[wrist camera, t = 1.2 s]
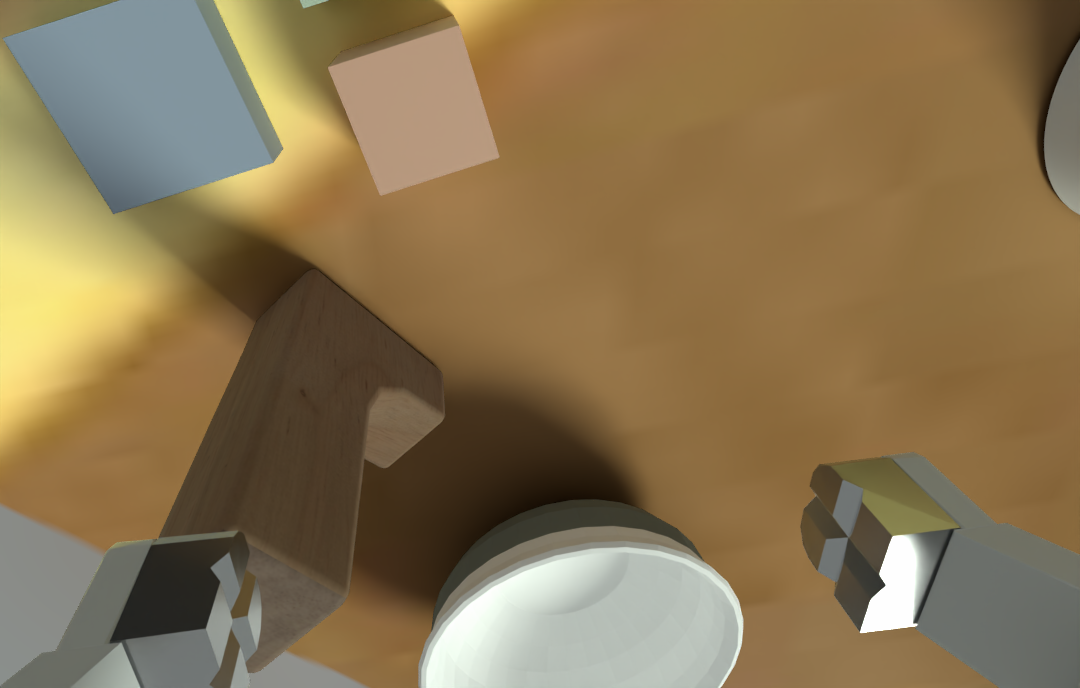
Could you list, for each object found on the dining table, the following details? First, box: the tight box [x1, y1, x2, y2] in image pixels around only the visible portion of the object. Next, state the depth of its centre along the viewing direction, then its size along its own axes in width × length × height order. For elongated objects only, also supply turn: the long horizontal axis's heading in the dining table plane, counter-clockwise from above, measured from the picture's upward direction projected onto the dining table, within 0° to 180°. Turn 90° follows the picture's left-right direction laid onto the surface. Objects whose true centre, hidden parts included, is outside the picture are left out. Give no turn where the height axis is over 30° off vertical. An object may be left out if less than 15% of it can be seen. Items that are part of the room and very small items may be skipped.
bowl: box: [418, 499, 743, 688], centre depth 42 cm, size 19×19×8 cm
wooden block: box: [159, 269, 445, 673], centre depth 28 cm, size 9×4×18 cm, turn 41°
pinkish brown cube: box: [328, 15, 500, 196], centre depth 28 cm, size 5×5×5 cm
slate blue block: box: [3, 0, 283, 214], centre depth 28 cm, size 7×7×2 cm
